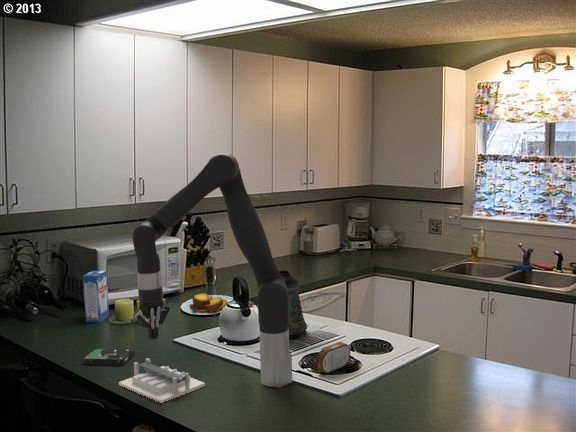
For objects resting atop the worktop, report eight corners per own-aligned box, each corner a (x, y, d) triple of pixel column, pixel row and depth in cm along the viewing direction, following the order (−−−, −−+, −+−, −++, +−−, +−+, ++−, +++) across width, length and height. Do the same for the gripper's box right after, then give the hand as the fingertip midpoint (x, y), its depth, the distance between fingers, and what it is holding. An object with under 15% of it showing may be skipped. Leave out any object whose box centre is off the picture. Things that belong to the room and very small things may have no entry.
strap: (186, 380, 199) (185, 376, 199) (178, 383, 197) (178, 379, 197) (146, 365, 213) (146, 361, 213) (138, 367, 211) (138, 364, 211)
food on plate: (249, 308, 290) (248, 294, 289) (204, 321, 273) (203, 306, 272) (214, 298, 308) (213, 285, 307) (170, 310, 291) (169, 295, 290)
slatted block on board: (204, 385, 205) (204, 368, 204) (161, 403, 192) (160, 385, 191) (162, 369, 219) (161, 353, 218) (118, 385, 207) (117, 367, 206)
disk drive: (134, 356, 234) (95, 355, 236) (134, 349, 234) (95, 347, 236) (124, 367, 224) (83, 365, 226) (123, 359, 224) (82, 358, 225)
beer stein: (298, 325, 263) (297, 265, 260) (315, 340, 245) (314, 275, 242) (259, 330, 258) (257, 269, 255) (273, 345, 240) (271, 279, 236)
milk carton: (95, 315, 285) (92, 270, 282) (109, 315, 284) (106, 270, 281) (85, 322, 275) (82, 275, 272) (99, 322, 274) (96, 276, 271)
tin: (345, 362, 222) (345, 338, 221) (352, 364, 220) (352, 340, 219) (315, 374, 212) (314, 349, 211) (322, 377, 210) (322, 352, 208)
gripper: (139, 292, 196) (143, 347, 198) (174, 283, 206) (177, 335, 208) (125, 288, 201) (129, 342, 203) (160, 279, 211) (163, 331, 213)
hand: (153, 338), depth 206 cm, fingers closed
